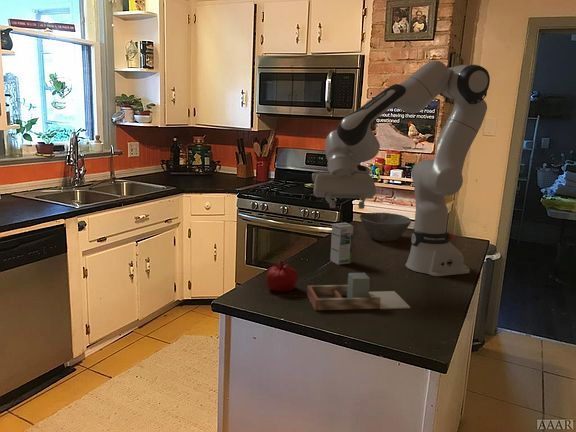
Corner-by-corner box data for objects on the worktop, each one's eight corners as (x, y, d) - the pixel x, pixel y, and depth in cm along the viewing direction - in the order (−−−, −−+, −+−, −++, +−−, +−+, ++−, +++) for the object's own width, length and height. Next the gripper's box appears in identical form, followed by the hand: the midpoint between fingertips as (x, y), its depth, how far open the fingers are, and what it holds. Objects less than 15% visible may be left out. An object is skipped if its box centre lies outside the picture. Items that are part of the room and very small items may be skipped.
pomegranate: (294, 297, 144) (296, 267, 142) (262, 293, 146) (263, 264, 144) (299, 285, 154) (301, 257, 151) (269, 281, 155) (270, 254, 153)
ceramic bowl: (377, 230, 229) (379, 210, 227) (419, 241, 213) (421, 219, 210) (346, 237, 214) (348, 215, 212) (389, 249, 198) (391, 226, 196)
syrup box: (338, 265, 175) (340, 226, 172) (329, 260, 180) (332, 222, 177) (351, 263, 178) (354, 225, 175) (342, 258, 183) (344, 221, 180)
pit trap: (335, 294, 147) (335, 284, 147) (345, 309, 136) (346, 299, 136) (306, 294, 146) (307, 285, 145) (315, 310, 135) (315, 300, 134)
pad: (394, 292, 151) (394, 291, 151) (410, 308, 139) (410, 307, 139) (366, 292, 149) (366, 291, 149) (380, 309, 137) (380, 307, 137)
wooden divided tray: (367, 293, 149) (367, 284, 148) (379, 308, 138) (380, 298, 137) (310, 294, 146) (310, 285, 145) (318, 310, 135) (319, 300, 134)
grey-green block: (362, 297, 145) (364, 272, 144) (367, 304, 141) (370, 278, 139) (346, 298, 145) (348, 272, 143) (351, 304, 140) (353, 278, 138)
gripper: (313, 165, 155) (317, 200, 148) (373, 167, 159) (380, 202, 151) (309, 177, 160) (313, 212, 153) (368, 179, 164) (374, 213, 156)
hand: (347, 207), depth 152 cm, fingers open, 8 cm apart
